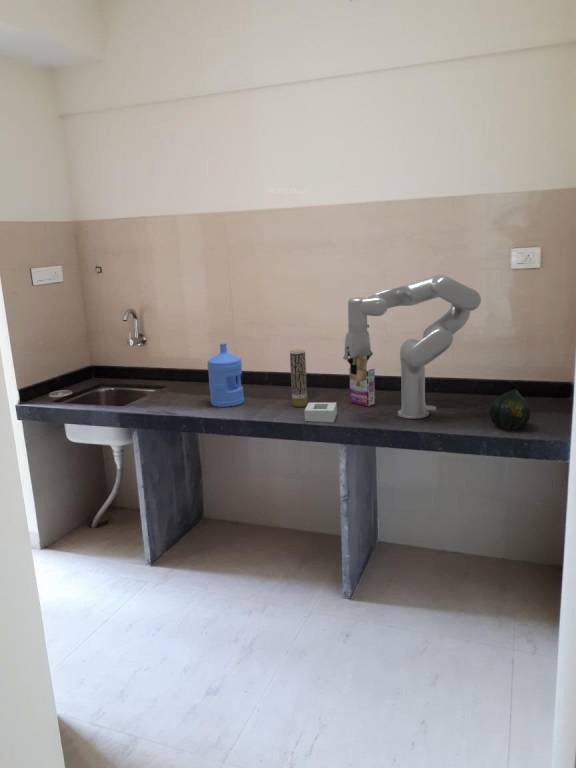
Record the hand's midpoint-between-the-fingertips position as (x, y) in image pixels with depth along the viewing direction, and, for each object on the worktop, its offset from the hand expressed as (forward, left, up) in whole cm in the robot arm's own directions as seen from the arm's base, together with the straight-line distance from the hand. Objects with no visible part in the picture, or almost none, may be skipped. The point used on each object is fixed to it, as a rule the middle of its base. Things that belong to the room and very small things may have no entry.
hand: (358, 372), depth 259 cm
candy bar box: (0, -22, -20) cm, 30 cm away
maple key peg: (0, 0, -3) cm, 3 cm away
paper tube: (+28, -19, -20) cm, 39 cm away
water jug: (+63, -23, -20) cm, 70 cm away
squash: (-58, +10, -20) cm, 62 cm away
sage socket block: (+16, 0, -19) cm, 25 cm away
